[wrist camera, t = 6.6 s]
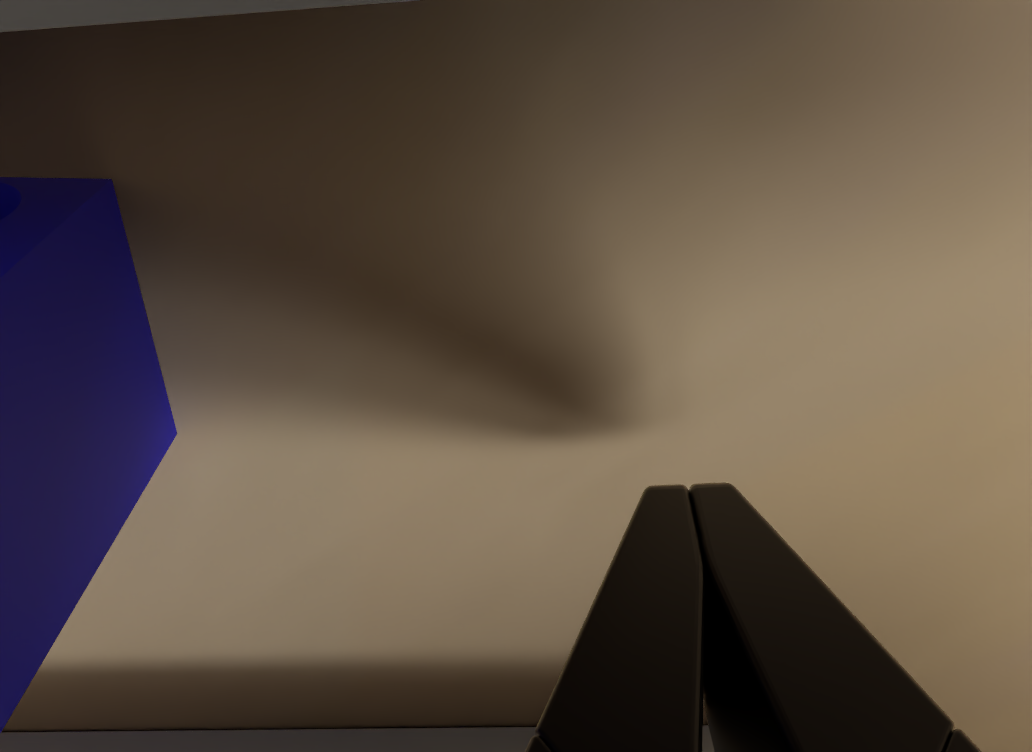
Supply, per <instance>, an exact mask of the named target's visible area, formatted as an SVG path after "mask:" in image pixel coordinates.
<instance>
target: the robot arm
mask: <svg viewBox="0 0 1032 752" xmlns="http://www.w3.org/2000/svg"><path fill="white" fill-rule="evenodd" d="M703 699H704V706H705V711H706V716H707V721H708V726H709V730H710V735H711V739H712V743H713V747H714V752H981V751H980V750H979V749H978V748H977V747H976V745H975V744H974V743H973V742H972V741H971V740H970V739H969V738H968V737H967V736H966V735H965V733H964V732H963V731H961V730H959V729H955V730H954V723H953V721H952V720H951V719H950V718H949V717H948V716H947V715H946V714H945V712H944V711H943V710H942V709H941V708H940V707H939V706H938V705H937V704H936V703H935V702H934V701H933V700H932V698H931V697H930V696H929V695H928V694H927V693H926V692H925V691H924V690H923V689H922V688H921V687H920V686H919V684H918V683H917V682H916V681H915V680H914V679H913V678H912V677H911V676H910V675H909V674H908V673H907V672H906V671H905V669H904V668H903V667H902V666H901V665H900V664H899V663H898V662H897V661H896V660H895V659H894V658H893V657H892V655H891V654H890V653H889V652H888V651H887V650H886V649H885V648H884V647H883V646H882V645H881V644H880V643H879V641H878V640H877V639H876V638H875V637H874V636H873V635H872V634H871V633H870V632H869V631H868V630H867V629H866V628H865V626H864V625H863V624H862V623H861V622H860V621H859V620H858V619H857V618H856V617H855V616H854V615H853V614H852V612H851V611H850V610H849V609H848V608H847V607H846V606H845V605H844V604H843V603H842V602H841V601H840V600H839V598H838V597H837V596H836V595H835V594H834V593H833V592H832V591H831V590H830V589H829V588H828V587H827V586H826V585H825V583H824V582H823V581H822V580H821V579H820V578H819V577H818V576H817V575H816V574H815V573H814V572H813V571H812V569H811V568H810V567H809V566H808V565H807V564H806V563H805V562H804V561H803V560H802V559H801V558H800V557H799V555H798V554H797V553H796V552H795V551H794V550H793V549H792V548H791V547H790V546H789V545H788V544H787V543H786V542H785V540H784V539H783V538H782V537H781V536H780V535H779V534H778V533H777V532H776V531H775V530H774V529H773V528H772V526H771V525H770V524H769V523H768V522H767V521H766V520H765V519H764V518H763V517H762V516H761V515H760V514H759V512H758V511H757V510H756V509H755V508H754V507H753V506H752V505H751V504H750V503H749V502H748V501H747V500H746V499H745V497H744V496H743V495H742V494H741V493H740V492H739V491H738V490H737V489H736V488H735V487H734V486H733V485H731V484H729V483H704V484H693V485H692V486H691V487H690V489H689V490H688V489H687V488H686V486H684V485H655V486H649V487H647V488H646V489H645V490H644V492H643V494H642V496H641V498H640V501H639V503H638V505H637V507H636V509H635V512H634V514H633V516H632V518H631V520H630V523H629V525H628V527H627V529H626V531H625V533H624V536H623V538H622V540H621V542H620V544H619V547H618V549H617V551H616V553H615V555H614V558H613V560H612V562H611V564H610V566H609V569H608V571H607V573H606V575H605V577H604V580H603V582H602V584H601V586H600V588H599V590H598V593H597V595H596V597H595V599H594V601H593V604H592V606H591V608H590V610H589V612H588V615H587V617H586V619H585V621H584V623H583V626H582V628H581V630H580V632H579V634H578V637H577V639H576V641H575V643H574V645H573V648H572V650H571V652H570V654H569V656H568V658H567V661H566V663H565V665H564V667H563V669H562V672H561V674H560V676H559V678H558V680H557V683H556V685H555V687H554V689H553V691H552V694H551V696H550V698H549V700H548V702H547V705H546V707H545V709H544V711H543V713H542V715H541V718H540V720H539V722H538V724H537V726H536V729H535V736H533V737H531V739H530V741H529V743H528V745H527V747H526V749H525V752H702V736H703Z"/></svg>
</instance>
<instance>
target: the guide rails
mask: <svg viewBox="0 0 1032 752" xmlns="http://www.w3.org/2000/svg"><path fill="white" fill-rule="evenodd" d="M404 1H418V0H0V32H9V31H22V30H36V29H49V28H62V27H75V26H88V25H101V24H115V23H128V22H141V21H154V20H167V19H181V18H194V17H207V16H220V15H233V14H246V13H260V12H273V11H286V10H299V9H312V8H325V7H339V6H352V5H365V4H378V3H391V2H404ZM535 729H536V727H491V728H393V729H294V730H196V731H97V732H1V733H0V752H525V749H526V747H527V745H528V743H529V741H530V739H531V737H533V736H535ZM702 752H714V747H713V743H712V739H711V735H710V730H709V726H708V725H703V736H702Z"/></svg>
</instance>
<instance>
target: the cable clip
mask: <svg viewBox="0 0 1032 752" xmlns="http://www.w3.org/2000/svg"><path fill="white" fill-rule="evenodd" d="M176 435H177V431H176V428H175V424H174V420H173V416H172V412H171V408H170V404H169V400H168V396H167V392H166V388H165V385H164V381H163V377H162V373H161V369H160V365H159V361H158V357H157V353H156V349H155V346H154V342H153V338H152V334H151V330H150V326H149V322H148V318H147V314H146V310H145V307H144V303H143V299H142V295H141V291H140V287H139V283H138V279H137V275H136V271H135V268H134V264H133V260H132V256H131V252H130V248H129V244H128V240H127V236H126V232H125V228H124V225H123V221H122V217H121V213H120V209H119V205H118V201H117V197H116V193H115V189H114V186H113V182H112V179H91V178H31V177H0V733H1V732H2V730H3V728H4V726H5V725H6V723H7V721H8V720H9V718H10V716H11V715H12V713H13V711H14V709H15V708H16V706H17V704H18V703H19V701H20V699H21V698H22V696H23V694H24V693H25V691H26V689H27V687H28V686H29V684H30V682H31V681H32V679H33V677H34V676H35V674H36V672H37V670H38V669H39V667H40V665H41V664H42V662H43V660H44V659H45V657H46V655H47V654H48V652H49V650H50V648H51V647H52V645H53V643H54V642H55V640H56V638H57V637H58V635H59V633H60V631H61V630H62V628H63V626H64V625H65V623H66V621H67V620H68V618H69V616H70V614H71V613H72V611H73V609H74V608H75V606H76V604H77V603H78V601H79V599H80V598H81V596H82V594H83V592H84V591H85V589H86V587H87V586H88V584H89V582H90V581H91V579H92V577H93V575H94V574H95V572H96V570H97V569H98V567H99V565H100V564H101V562H102V560H103V559H104V557H105V555H106V553H107V552H108V550H109V548H110V547H111V545H112V543H113V542H114V540H115V538H116V536H117V535H118V533H119V531H120V530H121V528H122V526H123V525H124V523H125V521H126V520H127V518H128V516H129V514H130V513H131V511H132V509H133V508H134V506H135V504H136V503H137V501H138V499H139V497H140V496H141V494H142V492H143V491H144V489H145V487H146V486H147V484H148V482H149V481H150V479H151V477H152V475H153V474H154V472H155V470H156V469H157V467H158V465H159V464H160V462H161V460H162V458H163V457H164V455H165V453H166V452H167V450H168V448H169V447H170V445H171V443H172V442H173V440H174V438H175V436H176Z"/></svg>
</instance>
